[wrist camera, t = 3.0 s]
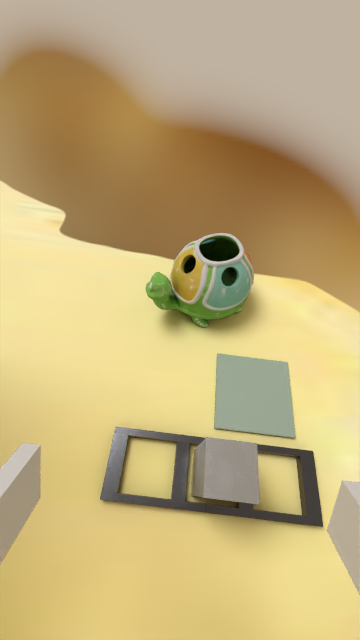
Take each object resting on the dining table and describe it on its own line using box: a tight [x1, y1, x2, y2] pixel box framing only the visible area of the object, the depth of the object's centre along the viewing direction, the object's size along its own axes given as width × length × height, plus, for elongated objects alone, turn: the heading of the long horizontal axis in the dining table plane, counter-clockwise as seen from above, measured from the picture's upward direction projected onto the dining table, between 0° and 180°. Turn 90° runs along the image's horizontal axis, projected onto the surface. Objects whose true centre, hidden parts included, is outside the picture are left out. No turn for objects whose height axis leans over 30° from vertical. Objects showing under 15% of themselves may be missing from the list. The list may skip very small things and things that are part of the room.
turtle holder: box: [146, 233, 254, 327], centre depth 44 cm, size 12×18×12 cm
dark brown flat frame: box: [100, 427, 323, 527], centre depth 35 cm, size 26×8×1 cm, turn 84°
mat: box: [214, 354, 296, 438], centre depth 41 cm, size 11×11×1 cm
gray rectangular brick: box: [190, 437, 259, 504], centre depth 31 cm, size 5×5×11 cm
